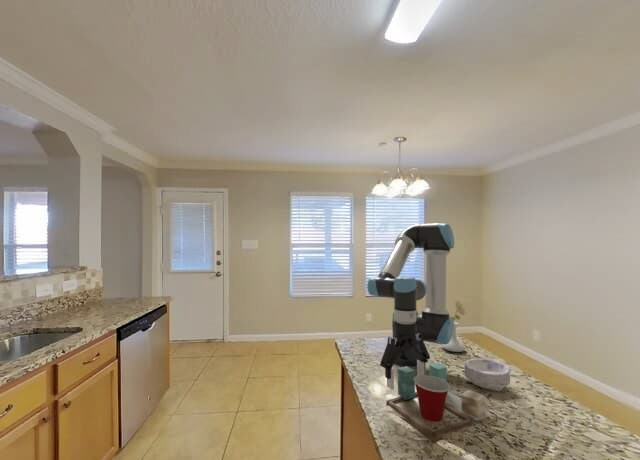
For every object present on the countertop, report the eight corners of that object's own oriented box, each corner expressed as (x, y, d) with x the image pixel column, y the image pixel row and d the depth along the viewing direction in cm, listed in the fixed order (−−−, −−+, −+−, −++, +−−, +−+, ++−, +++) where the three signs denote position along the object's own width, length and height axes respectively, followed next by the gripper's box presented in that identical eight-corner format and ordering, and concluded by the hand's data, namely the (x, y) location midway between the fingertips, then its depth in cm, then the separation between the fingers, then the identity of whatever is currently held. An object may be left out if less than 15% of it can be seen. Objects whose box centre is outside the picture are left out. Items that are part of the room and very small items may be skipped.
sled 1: (383, 404, 101) (383, 371, 102) (420, 393, 108) (419, 363, 109) (433, 443, 82) (432, 402, 82) (473, 426, 89) (473, 389, 89)
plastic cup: (458, 430, 88) (457, 388, 88) (422, 432, 87) (422, 390, 87) (440, 409, 98) (440, 372, 99) (408, 411, 98) (408, 374, 98)
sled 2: (426, 394, 108) (426, 365, 108) (440, 390, 111) (440, 362, 111) (477, 424, 90) (476, 390, 90) (492, 418, 93) (491, 385, 93)
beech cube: (461, 410, 95) (461, 394, 95) (468, 405, 98) (468, 389, 99) (478, 417, 91) (477, 401, 92) (484, 411, 95) (484, 395, 95)
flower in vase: (454, 355, 146) (453, 304, 147) (436, 347, 156) (435, 299, 158) (473, 351, 151) (472, 301, 152) (455, 344, 162) (454, 298, 163)
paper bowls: (457, 384, 116) (457, 363, 116) (476, 374, 125) (475, 355, 126) (500, 401, 104) (499, 377, 104) (517, 388, 113) (516, 366, 113)
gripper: (383, 328, 95) (383, 396, 94) (439, 320, 106) (440, 381, 105) (369, 322, 102) (369, 386, 101) (423, 315, 113) (424, 373, 112)
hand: (406, 384), depth 103 cm, fingers open, 13 cm apart
